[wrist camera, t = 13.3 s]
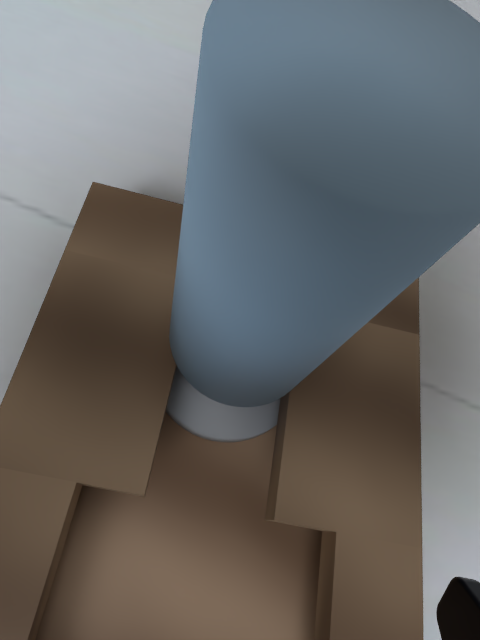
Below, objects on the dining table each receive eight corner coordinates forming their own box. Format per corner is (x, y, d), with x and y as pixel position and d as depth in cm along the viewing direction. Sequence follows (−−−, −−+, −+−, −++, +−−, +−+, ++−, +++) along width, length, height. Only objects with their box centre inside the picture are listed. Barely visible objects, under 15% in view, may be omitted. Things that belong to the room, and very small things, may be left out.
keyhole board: (352, 929, 12) (429, 1084, 9) (-135, 879, 11) (-261, 1037, 8) (375, 306, 21) (418, 264, 18) (102, 239, 20) (92, 181, 16)
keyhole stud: (322, 413, 18) (666, 208, 6) (176, 465, 16) (255, 318, 4) (267, 284, 19) (445, -64, 8) (132, 317, 18) (100, -70, 6)
